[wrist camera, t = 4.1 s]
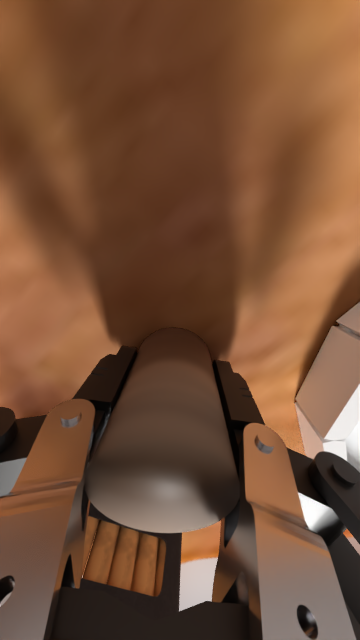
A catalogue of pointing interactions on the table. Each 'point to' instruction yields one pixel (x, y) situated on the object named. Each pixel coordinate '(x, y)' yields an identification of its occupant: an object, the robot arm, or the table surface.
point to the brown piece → (166, 442)
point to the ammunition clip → (132, 565)
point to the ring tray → (334, 394)
